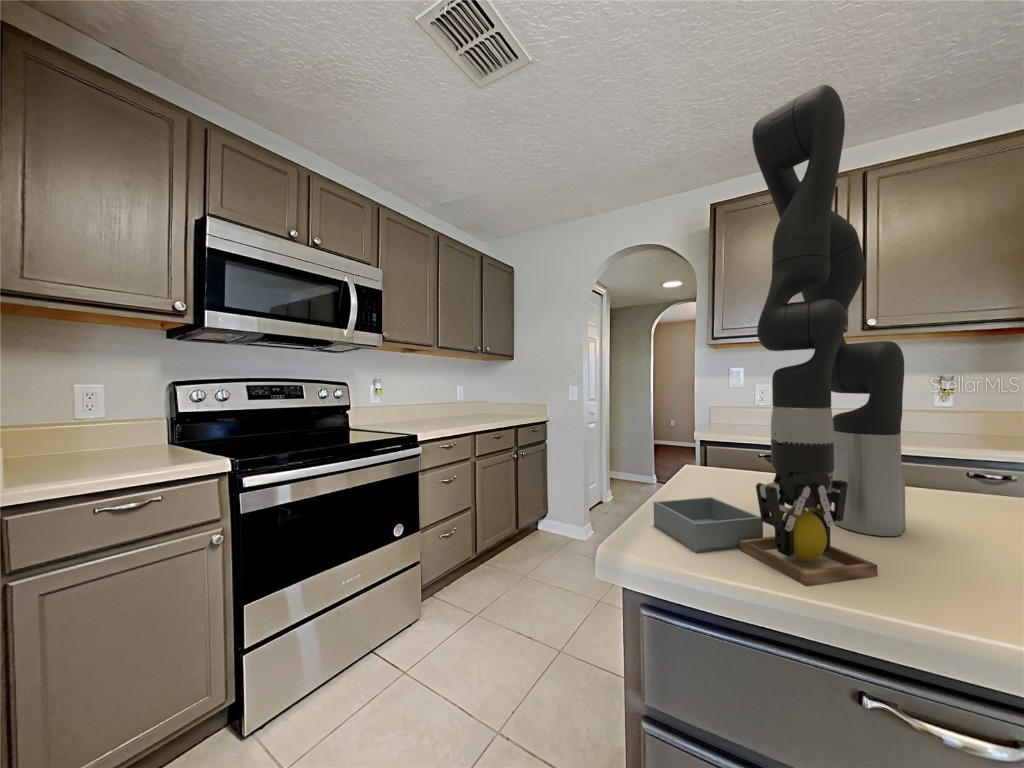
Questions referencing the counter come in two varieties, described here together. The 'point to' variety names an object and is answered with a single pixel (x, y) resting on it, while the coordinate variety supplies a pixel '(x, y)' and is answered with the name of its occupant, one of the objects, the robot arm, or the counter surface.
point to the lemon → (808, 536)
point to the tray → (812, 577)
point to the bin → (706, 523)
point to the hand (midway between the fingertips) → (802, 551)
